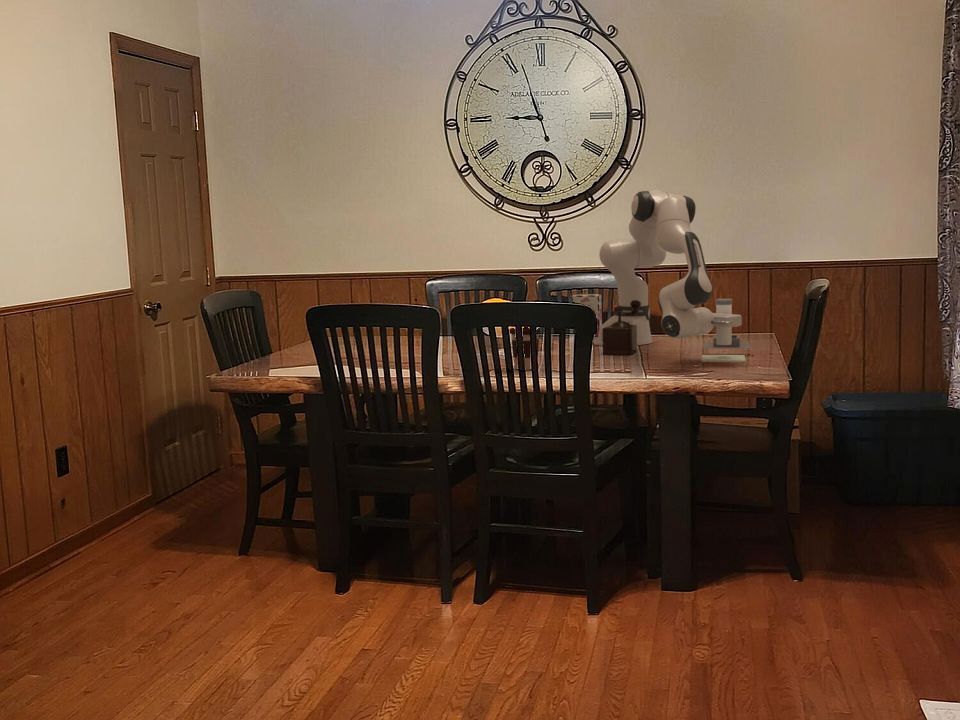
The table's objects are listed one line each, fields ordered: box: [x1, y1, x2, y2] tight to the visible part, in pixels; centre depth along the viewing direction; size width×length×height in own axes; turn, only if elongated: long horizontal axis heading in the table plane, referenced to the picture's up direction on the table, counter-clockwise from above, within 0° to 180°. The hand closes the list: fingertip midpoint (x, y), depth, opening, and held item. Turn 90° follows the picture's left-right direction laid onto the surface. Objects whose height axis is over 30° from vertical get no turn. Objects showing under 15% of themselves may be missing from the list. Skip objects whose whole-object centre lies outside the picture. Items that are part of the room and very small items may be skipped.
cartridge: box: [715, 298, 733, 345], centre depth 349 cm, size 5×5×15 cm
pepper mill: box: [602, 300, 641, 356], centre depth 372 cm, size 16×11×18 cm
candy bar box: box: [571, 293, 603, 337], centre depth 417 cm, size 11×5×16 cm, turn 71°
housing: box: [702, 334, 751, 350], centre depth 374 cm, size 16×16×4 cm
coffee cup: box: [509, 327, 541, 371], centre depth 342 cm, size 10×10×15 cm
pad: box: [701, 353, 746, 363], centre depth 351 cm, size 14×14×1 cm
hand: (725, 317), depth 349 cm, fingers closed on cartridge, 5 cm apart
